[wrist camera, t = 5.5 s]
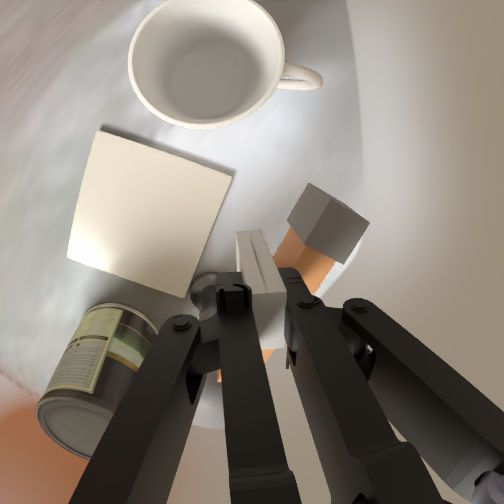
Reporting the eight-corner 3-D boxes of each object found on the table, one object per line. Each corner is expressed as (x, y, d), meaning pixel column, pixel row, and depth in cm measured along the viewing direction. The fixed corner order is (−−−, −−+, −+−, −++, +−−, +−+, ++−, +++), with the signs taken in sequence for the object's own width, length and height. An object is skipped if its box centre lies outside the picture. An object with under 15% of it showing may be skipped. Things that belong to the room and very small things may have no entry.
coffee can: (171, 317, 33) (155, 422, 20) (154, 379, 37) (140, 475, 24) (82, 289, 31) (28, 380, 18) (77, 355, 34) (42, 444, 21)
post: (199, 266, 31) (193, 342, 21) (240, 280, 32) (254, 357, 22) (185, 302, 33) (176, 383, 22) (225, 314, 34) (231, 396, 23)
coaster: (99, 129, 25) (97, 130, 24) (232, 176, 28) (232, 177, 27) (69, 254, 29) (66, 256, 28) (184, 295, 32) (184, 298, 32)
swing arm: (229, 401, 23) (233, 437, 20) (169, 382, 22) (165, 420, 19) (359, 213, 18) (388, 234, 15) (288, 171, 17) (306, 185, 13)
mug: (304, 56, 24) (360, 22, 13) (283, 144, 27) (329, 162, 16) (172, 31, 22) (145, -23, 11) (152, 121, 25) (108, 123, 14)
